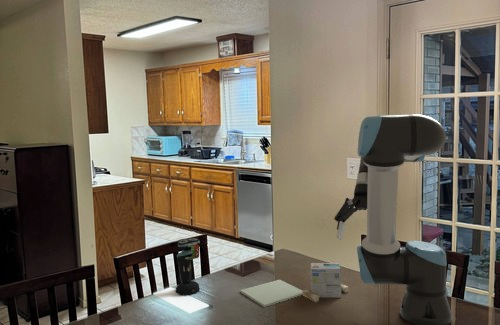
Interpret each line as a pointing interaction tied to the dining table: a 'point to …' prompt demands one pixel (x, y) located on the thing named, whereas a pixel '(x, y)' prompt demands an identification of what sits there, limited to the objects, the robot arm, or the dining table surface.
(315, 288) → the light bulb box
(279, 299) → the mat
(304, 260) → the dining table surface
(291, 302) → the dining table surface
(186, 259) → the cordless drill
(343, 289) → the beige rectangular blocks
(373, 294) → the dining table surface
